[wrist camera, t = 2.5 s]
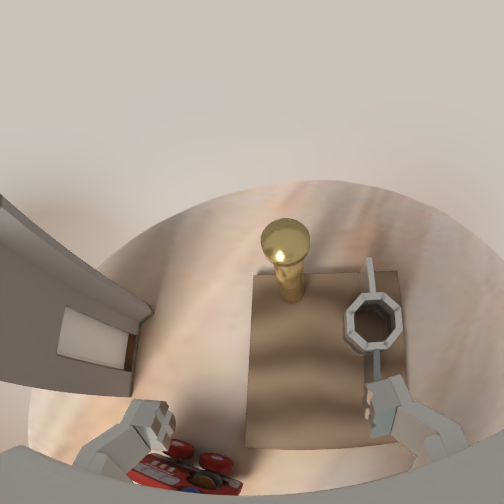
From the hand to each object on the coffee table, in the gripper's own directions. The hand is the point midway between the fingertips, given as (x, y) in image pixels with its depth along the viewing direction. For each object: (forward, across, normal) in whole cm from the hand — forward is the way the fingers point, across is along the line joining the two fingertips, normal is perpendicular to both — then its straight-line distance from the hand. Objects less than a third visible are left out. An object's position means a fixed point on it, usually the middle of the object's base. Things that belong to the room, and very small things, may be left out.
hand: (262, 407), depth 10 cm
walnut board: (+19, -5, +15) cm, 25 cm away
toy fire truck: (+10, +13, +24) cm, 29 cm away
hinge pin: (+25, -2, +8) cm, 26 cm away
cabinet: (+20, +25, +15) cm, 35 cm away
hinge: (+20, -10, +12) cm, 26 cm away
